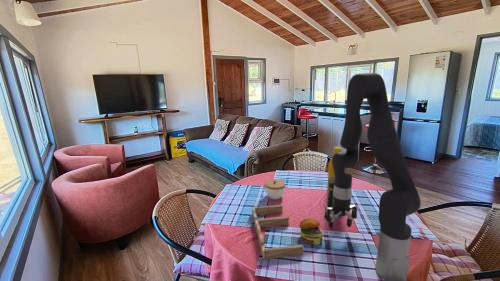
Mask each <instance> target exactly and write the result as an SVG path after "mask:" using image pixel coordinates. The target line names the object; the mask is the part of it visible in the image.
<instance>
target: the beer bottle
mask: <svg viewBox="0 0 500 281" xmlns="http://www.w3.org/2000/svg"><path fill="white" fill-rule="evenodd" d="M338 152H342V146H334V147H333V151H332V156H331V158H330V160H329V162H328V172H327V191H328V184H329V179H330V178H332V177H335V174H334V170H333V165H332V157H333V155H334V154H335V153H338Z"/></svg>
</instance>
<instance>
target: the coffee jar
mask: <svg viewBox="0 0 500 281" xmlns="http://www.w3.org/2000/svg"><path fill="white" fill-rule="evenodd" d="M334 183H335V177H332V178H330V179H329V184H328V183H327V186H328V190H327V202H326V204H327V205H326V207H328V208H332V206H333V190H334ZM331 213H332V211H331ZM331 213H330V215H331ZM334 215H336V214H334Z"/></svg>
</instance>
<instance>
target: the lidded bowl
mask: <svg viewBox="0 0 500 281" xmlns="http://www.w3.org/2000/svg"><path fill="white" fill-rule="evenodd" d="M285 190H286V182H285V181H284V180H282V179H278V178H273V179H267V180H266V181H265V182H264V191H265V193H266V196H268V198H269V199H272V200H280V199H281V198H282V197H283V196H284V194H285Z"/></svg>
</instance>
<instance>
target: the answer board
mask: <svg viewBox="0 0 500 281" xmlns="http://www.w3.org/2000/svg"><path fill="white" fill-rule="evenodd" d="M283 206H284V205H283V204H276V205H263V206H255V207H251V216H252V219H253V223H254V227H255V232H256V235H257V240H258V243H259V248H260V252H261V256H262V259H263V260H271V259H279V258H280V257H281V258H287V257H288V258H289V257H296V256H303V255H304V245H303V244H295V245H286V246H279V247H270V248H266V246H265V240H264V238H263V233H262V230H261V229H263V228H272V227H273V228H274V227H283V226H289V225H290V223H289V220H290V218H289V216H279V217H270V218H259V219H258V216H261V215H269V214H279V213H281V214H282V213H284V212H283V211H284V210H283V208H284V207H283Z"/></svg>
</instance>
